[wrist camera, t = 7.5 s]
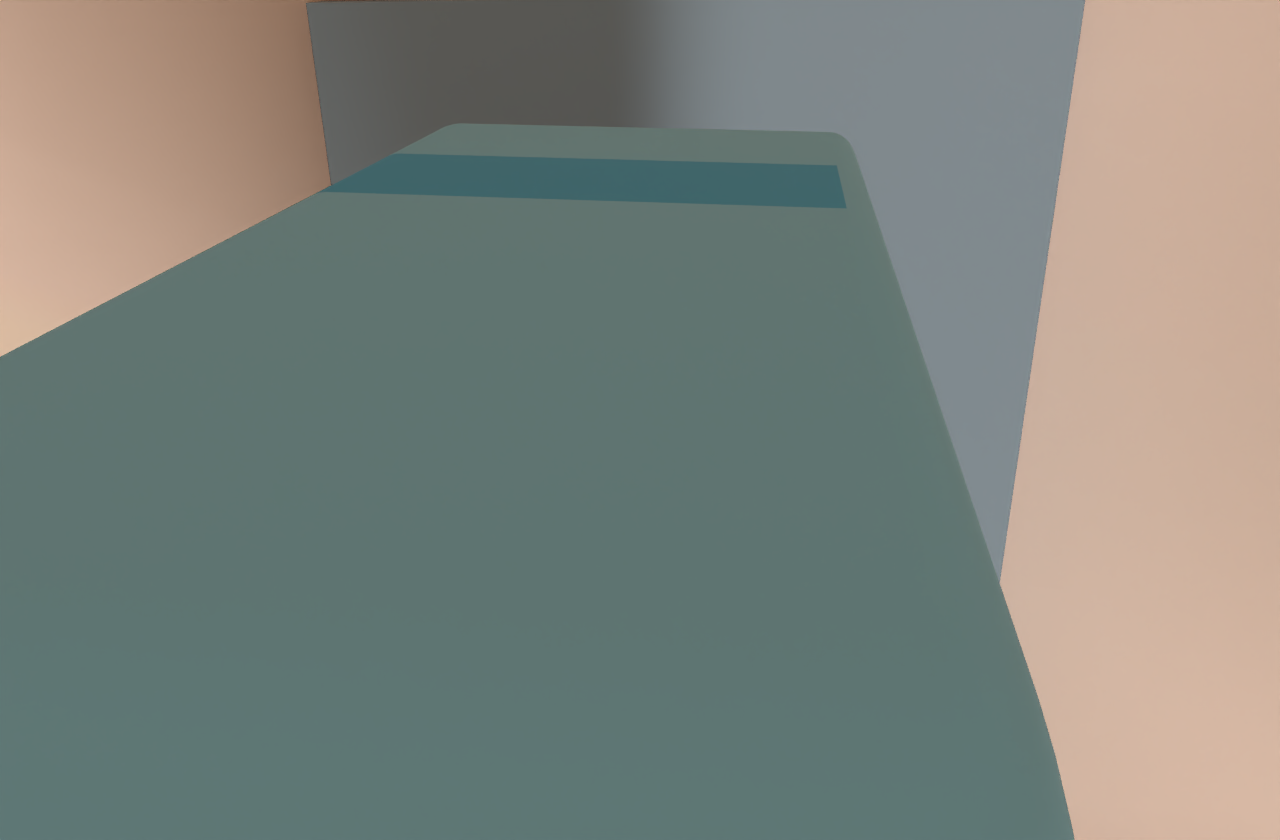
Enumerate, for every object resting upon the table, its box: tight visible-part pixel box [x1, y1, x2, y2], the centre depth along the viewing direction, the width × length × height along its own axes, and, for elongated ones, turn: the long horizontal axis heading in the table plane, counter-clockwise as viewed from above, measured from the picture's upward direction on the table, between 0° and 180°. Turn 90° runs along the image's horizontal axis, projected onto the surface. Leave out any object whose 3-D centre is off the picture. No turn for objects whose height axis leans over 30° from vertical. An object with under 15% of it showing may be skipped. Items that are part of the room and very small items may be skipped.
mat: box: [306, 0, 1085, 583], centre depth 19 cm, size 12×14×1 cm
